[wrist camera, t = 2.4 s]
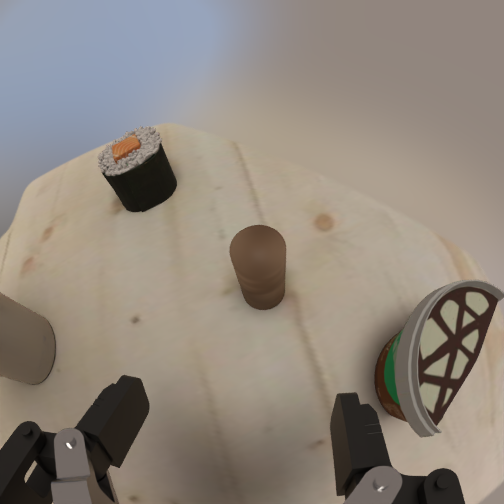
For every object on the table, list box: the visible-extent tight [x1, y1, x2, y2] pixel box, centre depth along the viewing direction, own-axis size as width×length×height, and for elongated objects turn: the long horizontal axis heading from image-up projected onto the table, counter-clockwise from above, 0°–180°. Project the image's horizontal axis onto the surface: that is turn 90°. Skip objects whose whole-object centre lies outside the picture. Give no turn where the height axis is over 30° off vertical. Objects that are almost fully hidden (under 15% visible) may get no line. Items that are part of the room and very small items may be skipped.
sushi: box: [98, 126, 177, 212], centre depth 32 cm, size 8×8×8 cm
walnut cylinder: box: [230, 225, 286, 310], centre depth 23 cm, size 4×4×8 cm
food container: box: [375, 280, 504, 437], centre depth 18 cm, size 12×6×10 cm, turn 135°
